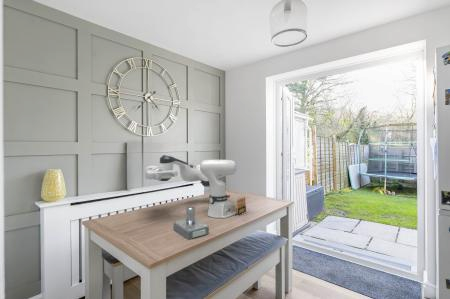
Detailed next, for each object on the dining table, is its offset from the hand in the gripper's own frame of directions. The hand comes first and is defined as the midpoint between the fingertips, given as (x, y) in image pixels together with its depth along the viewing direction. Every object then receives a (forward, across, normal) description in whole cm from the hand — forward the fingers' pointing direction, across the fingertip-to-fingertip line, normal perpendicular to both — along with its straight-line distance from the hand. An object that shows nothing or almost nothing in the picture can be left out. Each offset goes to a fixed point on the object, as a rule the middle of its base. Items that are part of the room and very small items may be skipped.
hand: (167, 175), depth 146 cm
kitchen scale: (+21, -5, -30) cm, 37 cm away
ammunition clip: (+13, -51, -30) cm, 61 cm away
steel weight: (+21, -5, -25) cm, 33 cm away
